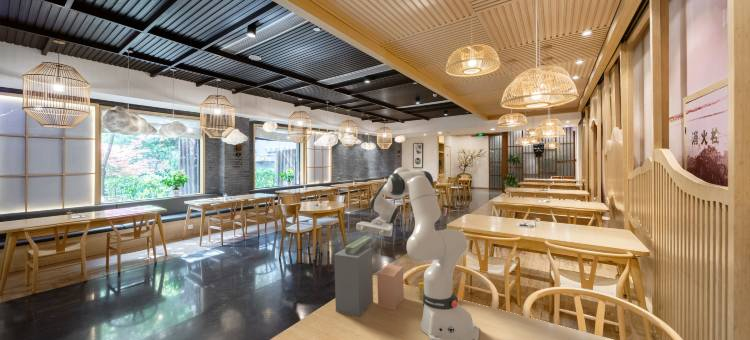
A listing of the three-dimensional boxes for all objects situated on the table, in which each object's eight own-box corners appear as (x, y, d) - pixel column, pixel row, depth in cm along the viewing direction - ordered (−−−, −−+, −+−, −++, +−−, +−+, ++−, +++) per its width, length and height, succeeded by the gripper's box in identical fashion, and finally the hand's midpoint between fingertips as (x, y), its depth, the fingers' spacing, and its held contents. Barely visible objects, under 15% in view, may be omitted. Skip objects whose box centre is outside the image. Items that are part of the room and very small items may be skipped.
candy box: (419, 300, 134) (419, 283, 134) (419, 298, 137) (418, 281, 136) (453, 300, 134) (453, 283, 134) (452, 298, 136) (452, 281, 136)
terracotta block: (403, 297, 138) (402, 266, 137) (394, 310, 126) (393, 276, 126) (388, 294, 141) (387, 264, 140) (378, 306, 130) (377, 273, 129)
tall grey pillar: (373, 301, 134) (371, 248, 133) (359, 317, 122) (357, 257, 120) (351, 297, 139) (350, 245, 138) (335, 311, 127) (334, 254, 126)
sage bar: (371, 242, 142) (371, 236, 142) (353, 254, 125) (352, 247, 125) (364, 241, 144) (364, 235, 144) (345, 253, 127) (345, 246, 127)
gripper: (361, 217, 164) (352, 222, 151) (395, 224, 157) (388, 230, 144) (360, 228, 164) (351, 234, 151) (394, 235, 158) (387, 242, 145)
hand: (369, 232), depth 148 cm, fingers open, 8 cm apart
